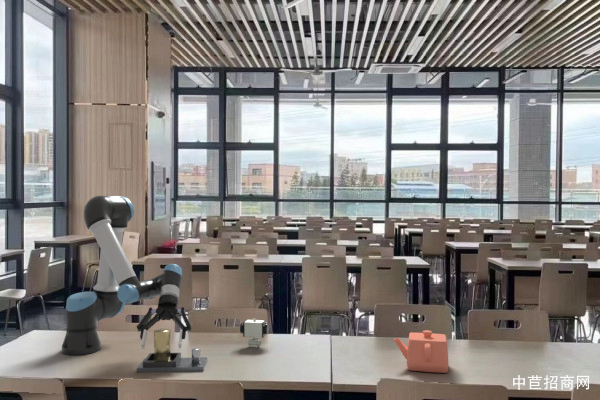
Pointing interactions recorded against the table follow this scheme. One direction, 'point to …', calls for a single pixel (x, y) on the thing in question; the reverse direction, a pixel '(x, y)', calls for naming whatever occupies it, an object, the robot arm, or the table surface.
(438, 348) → the teapot
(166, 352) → the gold tapered block
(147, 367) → the base
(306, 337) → the table surface
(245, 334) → the pneumatic valve
